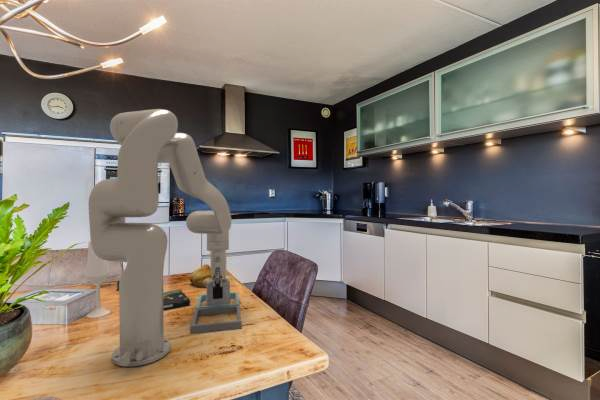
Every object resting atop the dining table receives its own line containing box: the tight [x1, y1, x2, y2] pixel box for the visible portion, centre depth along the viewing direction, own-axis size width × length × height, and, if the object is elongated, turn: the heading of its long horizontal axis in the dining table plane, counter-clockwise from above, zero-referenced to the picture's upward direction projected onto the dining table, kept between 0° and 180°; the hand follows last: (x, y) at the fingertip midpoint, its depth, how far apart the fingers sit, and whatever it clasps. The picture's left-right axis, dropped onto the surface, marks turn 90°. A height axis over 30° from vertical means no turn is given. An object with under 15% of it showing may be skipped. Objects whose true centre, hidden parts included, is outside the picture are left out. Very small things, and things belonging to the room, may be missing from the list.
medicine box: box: [205, 278, 231, 306], centre depth 109 cm, size 8×4×9 cm, turn 109°
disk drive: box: [163, 289, 191, 311], centre depth 112 cm, size 10×3×15 cm
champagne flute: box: [85, 239, 111, 319], centre depth 102 cm, size 7×7×24 cm
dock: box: [189, 291, 242, 334], centre depth 102 cm, size 29×14×2 cm, turn 13°
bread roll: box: [189, 263, 212, 288], centre depth 135 cm, size 13×10×8 cm
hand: (218, 294), depth 109 cm, fingers open, 9 cm apart
